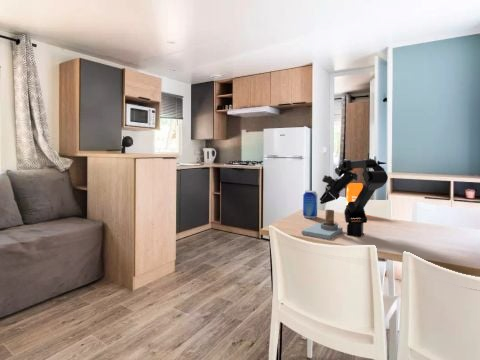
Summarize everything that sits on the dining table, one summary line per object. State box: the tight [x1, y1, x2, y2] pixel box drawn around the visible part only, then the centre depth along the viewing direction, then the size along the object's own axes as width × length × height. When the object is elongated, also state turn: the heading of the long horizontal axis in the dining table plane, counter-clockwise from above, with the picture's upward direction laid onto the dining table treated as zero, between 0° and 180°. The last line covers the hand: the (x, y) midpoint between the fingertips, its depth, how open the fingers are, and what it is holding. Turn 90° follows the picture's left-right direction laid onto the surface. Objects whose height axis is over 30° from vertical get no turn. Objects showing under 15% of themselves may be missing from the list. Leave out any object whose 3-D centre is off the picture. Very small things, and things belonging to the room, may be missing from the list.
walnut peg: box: [325, 209, 335, 226], centre depth 150 cm, size 4×4×9 cm
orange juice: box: [345, 182, 364, 206], centre depth 190 cm, size 8×9×20 cm
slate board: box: [301, 222, 344, 240], centre depth 149 cm, size 14×17×4 cm
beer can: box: [302, 190, 318, 219], centre depth 183 cm, size 8×8×16 cm
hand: (320, 201), depth 158 cm, fingers open, 9 cm apart
